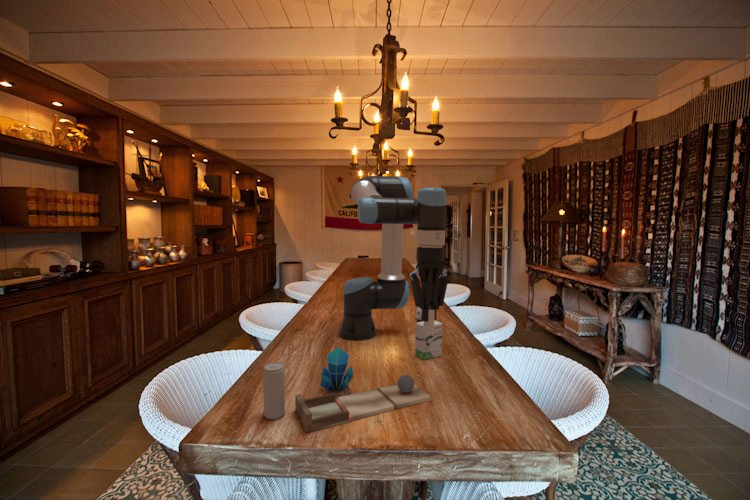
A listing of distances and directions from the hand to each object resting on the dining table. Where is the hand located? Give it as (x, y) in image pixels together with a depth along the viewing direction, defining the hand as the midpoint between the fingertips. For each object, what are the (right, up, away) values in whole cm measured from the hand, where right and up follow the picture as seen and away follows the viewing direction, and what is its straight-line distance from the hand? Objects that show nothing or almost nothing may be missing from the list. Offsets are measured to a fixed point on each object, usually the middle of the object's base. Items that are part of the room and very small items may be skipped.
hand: (428, 332), depth 95 cm
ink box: (+4, -15, +27) cm, 31 cm away
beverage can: (-39, -17, -12) cm, 44 cm away
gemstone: (-25, -16, -1) cm, 30 cm away
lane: (-17, -17, -7) cm, 25 cm away
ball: (-6, -13, -2) cm, 15 cm away
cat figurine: (+9, -12, +70) cm, 72 cm away
